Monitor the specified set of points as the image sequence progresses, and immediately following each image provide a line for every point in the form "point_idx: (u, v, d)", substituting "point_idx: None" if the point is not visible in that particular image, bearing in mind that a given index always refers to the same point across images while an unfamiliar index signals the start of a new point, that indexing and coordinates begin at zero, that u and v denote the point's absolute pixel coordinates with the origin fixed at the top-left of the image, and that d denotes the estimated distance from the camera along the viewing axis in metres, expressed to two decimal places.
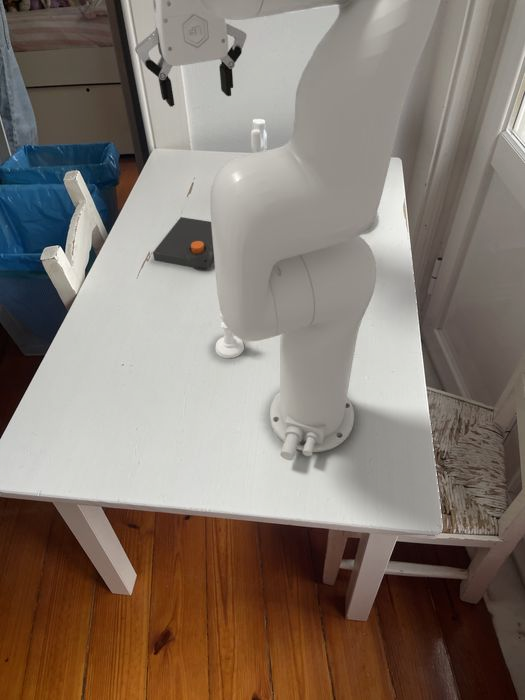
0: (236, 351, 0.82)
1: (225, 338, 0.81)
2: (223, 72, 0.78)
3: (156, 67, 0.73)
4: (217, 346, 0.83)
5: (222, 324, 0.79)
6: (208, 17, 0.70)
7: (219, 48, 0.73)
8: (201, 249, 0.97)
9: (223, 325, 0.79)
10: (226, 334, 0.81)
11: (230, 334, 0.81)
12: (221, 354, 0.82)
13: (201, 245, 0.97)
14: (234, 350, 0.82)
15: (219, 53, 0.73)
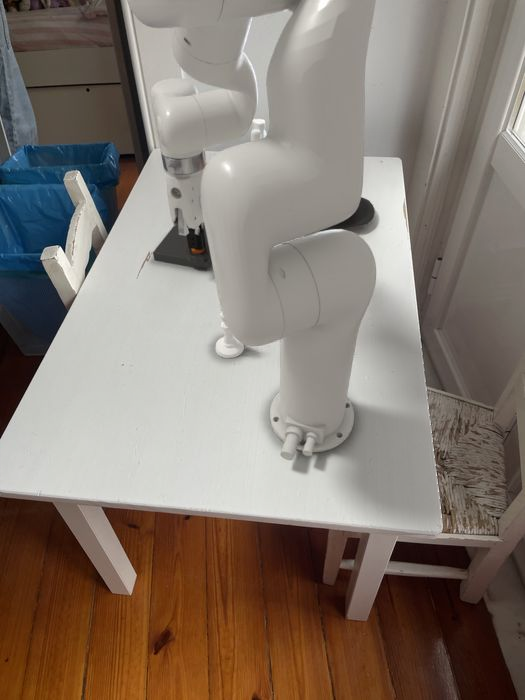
0: (236, 351, 0.82)
1: (225, 338, 0.81)
2: None
3: (193, 233, 0.93)
4: (217, 346, 0.83)
5: (222, 324, 0.79)
6: None
7: None
8: (201, 252, 0.97)
9: (223, 325, 0.79)
10: (226, 334, 0.81)
11: (230, 334, 0.81)
12: (221, 354, 0.82)
13: None
14: (234, 350, 0.82)
15: None
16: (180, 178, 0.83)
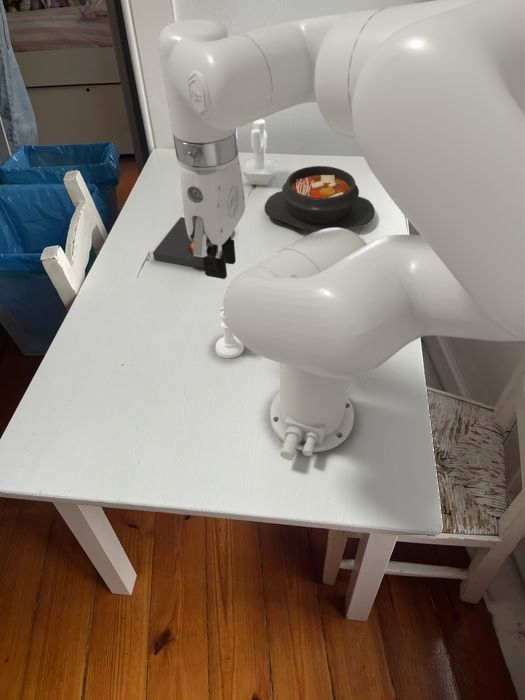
0: (236, 351, 0.82)
1: (225, 338, 0.81)
2: (225, 245, 0.70)
3: (213, 255, 0.65)
4: (217, 346, 0.83)
5: (222, 324, 0.79)
6: (237, 183, 0.63)
7: (242, 206, 0.66)
8: None
9: (223, 325, 0.79)
10: (226, 334, 0.81)
11: (230, 334, 0.81)
12: (221, 354, 0.82)
13: None
14: (234, 350, 0.82)
15: (242, 211, 0.67)
16: (201, 172, 0.56)
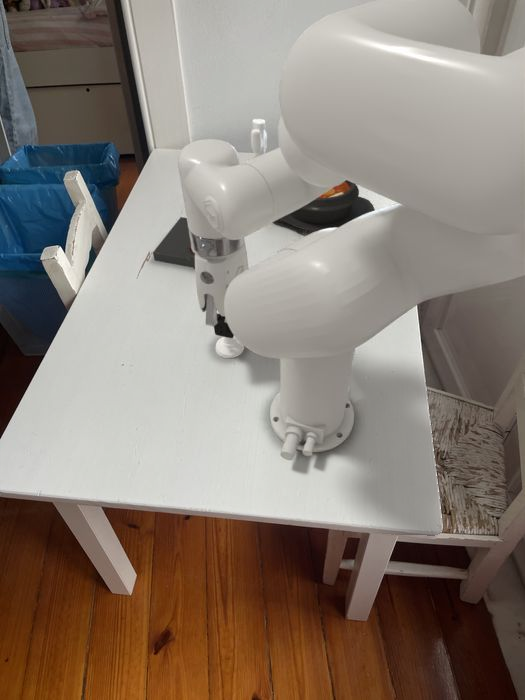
0: (236, 351, 0.82)
1: (225, 338, 0.81)
2: None
3: (222, 321, 0.74)
4: (217, 346, 0.83)
5: None
6: (243, 262, 0.72)
7: None
8: None
9: None
10: None
11: None
12: (221, 354, 0.82)
13: None
14: (234, 350, 0.82)
15: None
16: (213, 261, 0.65)
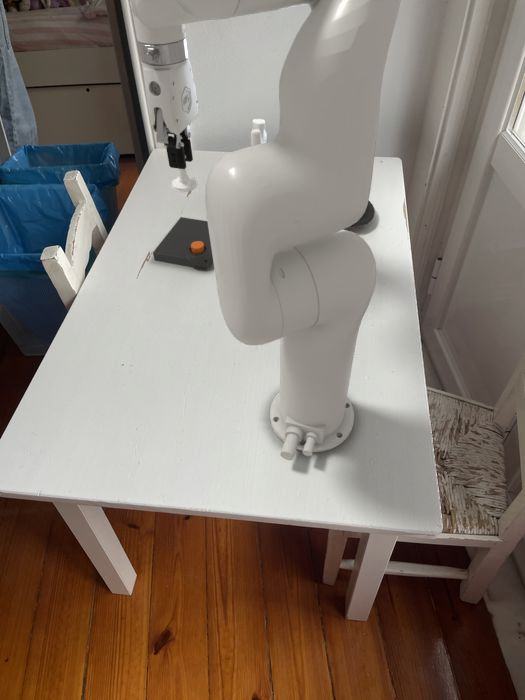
0: (189, 185, 0.91)
1: (179, 173, 0.90)
2: None
3: (173, 145, 0.83)
4: (173, 183, 0.92)
5: None
6: (190, 86, 0.81)
7: (196, 108, 0.84)
8: (201, 249, 0.97)
9: None
10: None
11: None
12: (176, 189, 0.91)
13: (201, 245, 0.97)
14: (188, 185, 0.91)
15: (196, 112, 0.85)
16: (159, 69, 0.74)
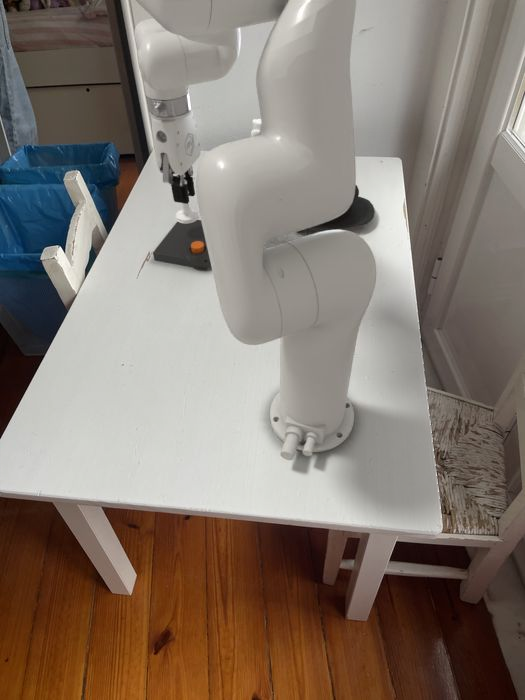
0: (192, 217, 1.00)
1: (182, 206, 1.00)
2: (186, 180, 0.97)
3: (177, 183, 0.93)
4: (177, 215, 1.01)
5: None
6: (193, 132, 0.90)
7: (198, 150, 0.94)
8: (201, 249, 0.97)
9: None
10: None
11: None
12: (180, 220, 1.00)
13: (201, 245, 0.97)
14: (190, 217, 1.00)
15: (198, 154, 0.94)
16: (165, 121, 0.84)
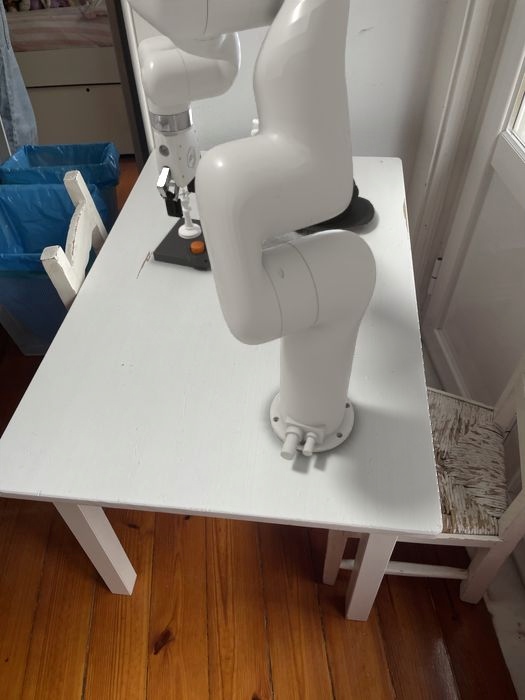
0: (194, 233, 1.03)
1: (185, 222, 1.02)
2: (194, 178, 1.00)
3: (171, 193, 0.91)
4: (179, 230, 1.04)
5: (182, 208, 1.00)
6: (194, 145, 0.92)
7: None
8: (201, 249, 0.97)
9: (183, 209, 1.00)
10: (186, 218, 1.01)
11: (189, 218, 1.02)
12: (182, 235, 1.03)
13: (201, 245, 0.97)
14: (193, 232, 1.03)
15: None
16: (168, 135, 0.85)
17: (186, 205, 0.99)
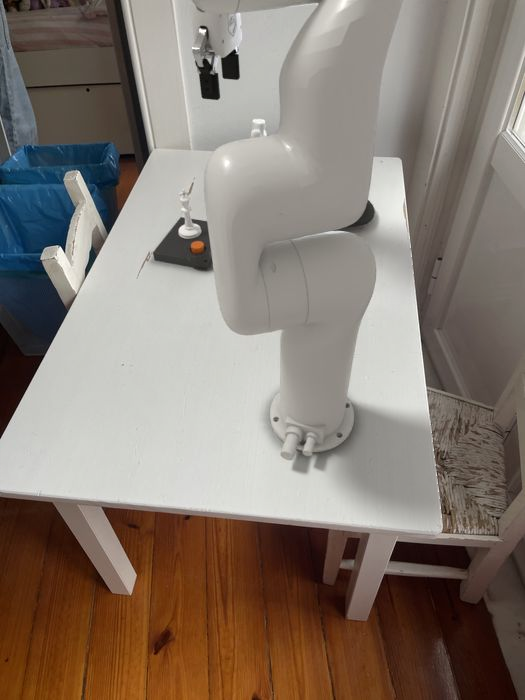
0: (194, 233, 1.03)
1: (185, 222, 1.02)
2: (231, 58, 0.85)
3: (208, 64, 0.76)
4: (179, 230, 1.04)
5: (182, 208, 1.00)
6: None
7: (240, 34, 0.81)
8: (201, 249, 0.97)
9: (183, 209, 1.00)
10: (186, 218, 1.01)
11: (189, 218, 1.02)
12: (182, 235, 1.03)
13: (201, 245, 0.97)
14: (193, 232, 1.03)
15: (240, 39, 0.81)
16: None
17: (186, 205, 0.99)
